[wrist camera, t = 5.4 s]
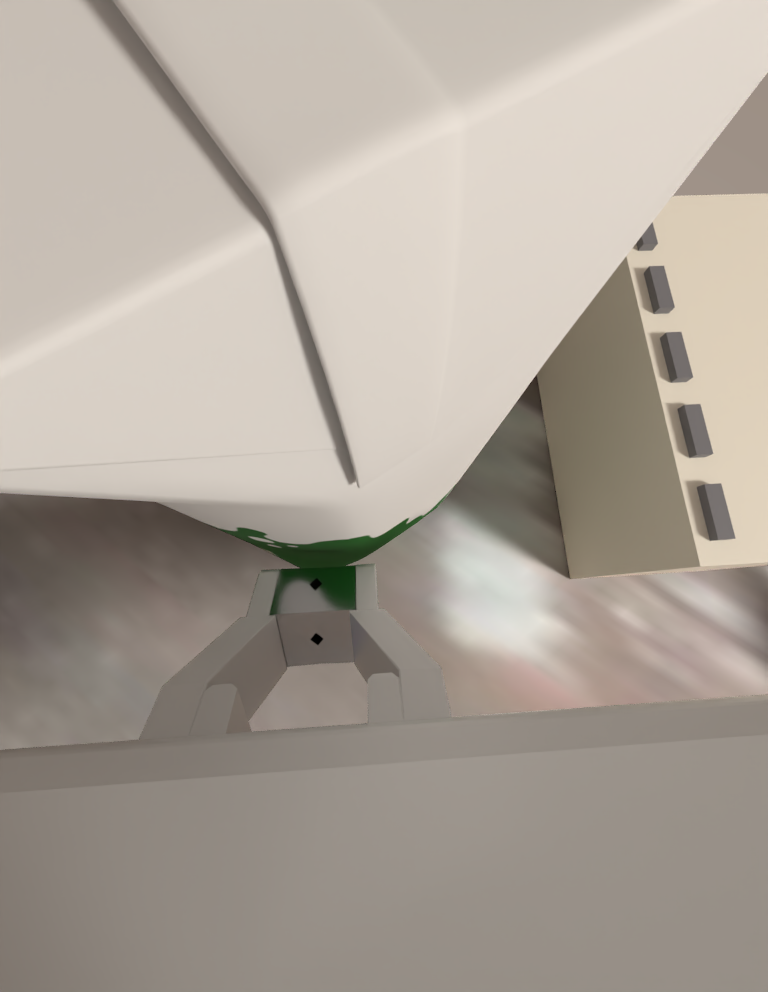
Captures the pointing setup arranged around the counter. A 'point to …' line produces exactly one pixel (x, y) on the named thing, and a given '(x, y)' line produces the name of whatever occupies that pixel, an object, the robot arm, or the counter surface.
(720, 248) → the block
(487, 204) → the soya milk
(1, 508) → the counter surface
